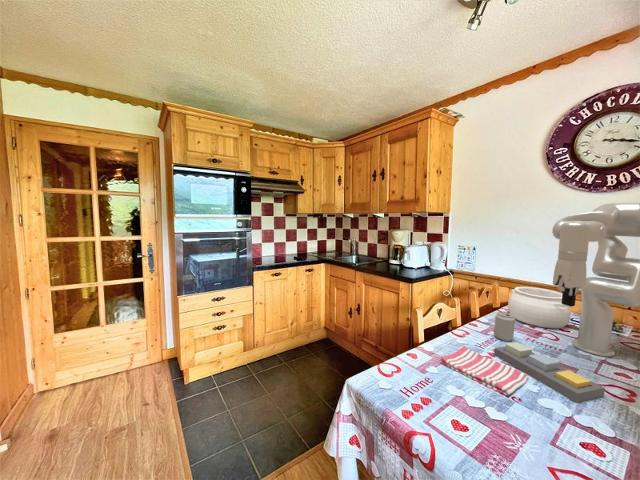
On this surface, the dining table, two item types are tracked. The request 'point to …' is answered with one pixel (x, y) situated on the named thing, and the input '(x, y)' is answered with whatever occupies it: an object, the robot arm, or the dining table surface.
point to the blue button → (543, 362)
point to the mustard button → (573, 379)
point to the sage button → (518, 349)
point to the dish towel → (485, 370)
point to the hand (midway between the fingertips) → (568, 304)
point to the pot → (539, 307)
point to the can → (504, 326)
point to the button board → (551, 378)
